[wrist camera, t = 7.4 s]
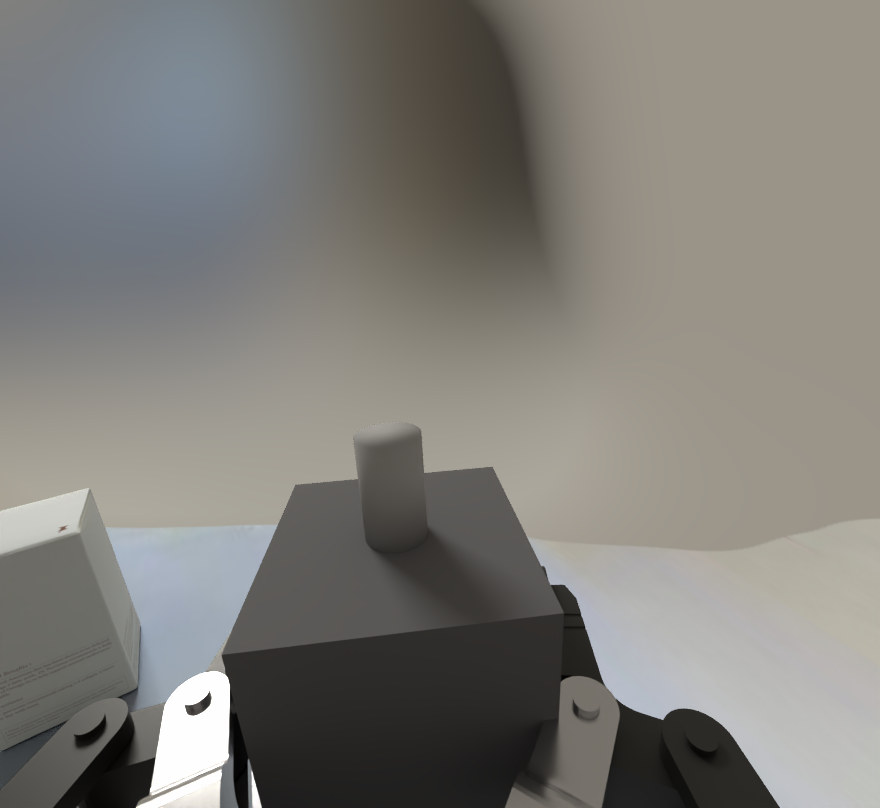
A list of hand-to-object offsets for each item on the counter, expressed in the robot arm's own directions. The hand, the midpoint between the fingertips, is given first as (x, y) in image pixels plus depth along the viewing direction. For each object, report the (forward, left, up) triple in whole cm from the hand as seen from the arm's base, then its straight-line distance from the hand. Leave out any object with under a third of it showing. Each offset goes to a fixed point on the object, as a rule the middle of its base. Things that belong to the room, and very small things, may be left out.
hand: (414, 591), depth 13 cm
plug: (0, -2, -7) cm, 7 cm away
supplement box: (-24, +16, -17) cm, 34 cm away
